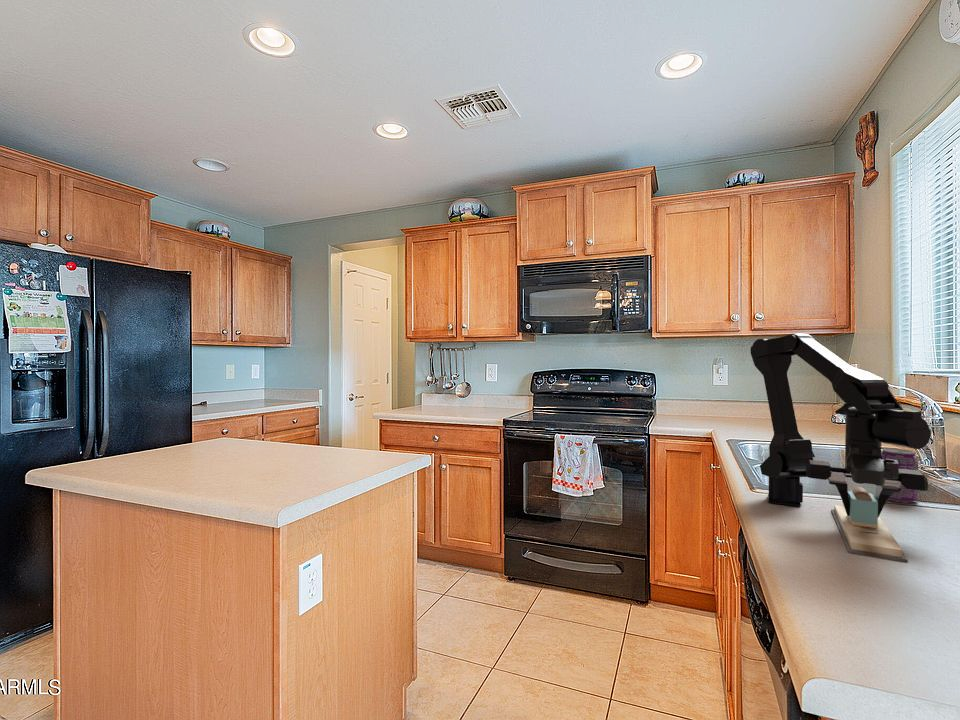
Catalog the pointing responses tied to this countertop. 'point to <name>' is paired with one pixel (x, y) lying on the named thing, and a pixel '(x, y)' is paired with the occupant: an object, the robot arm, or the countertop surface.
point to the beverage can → (905, 461)
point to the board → (867, 538)
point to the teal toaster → (863, 508)
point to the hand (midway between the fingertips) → (861, 517)
